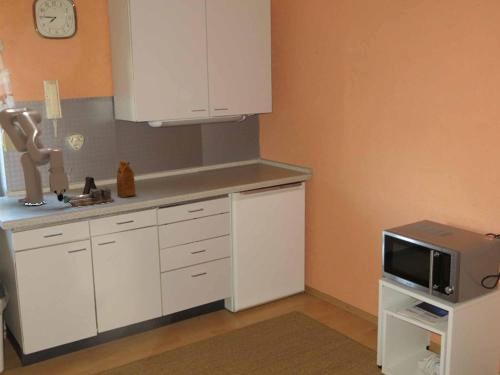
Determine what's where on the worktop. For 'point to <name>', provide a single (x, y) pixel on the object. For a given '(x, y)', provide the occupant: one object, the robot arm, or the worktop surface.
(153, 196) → the worktop surface
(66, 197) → the shaft
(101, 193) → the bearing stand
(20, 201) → the robot arm
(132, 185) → the coffee package
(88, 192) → the phone stand
